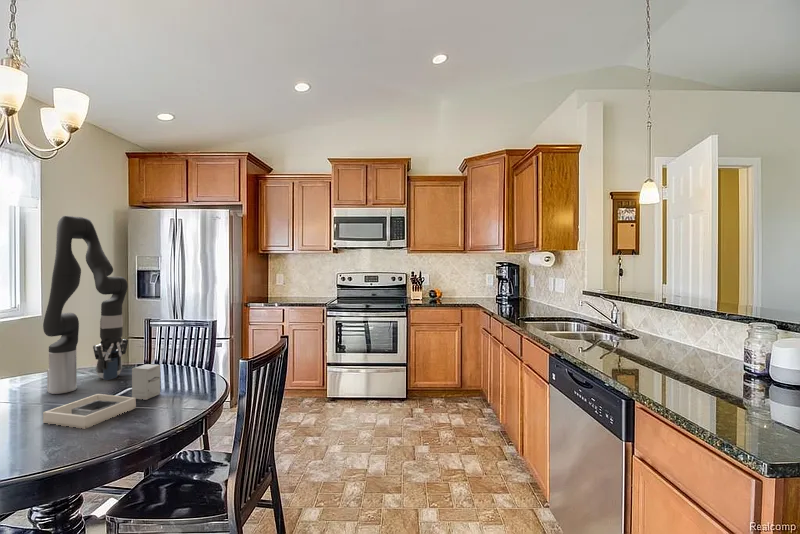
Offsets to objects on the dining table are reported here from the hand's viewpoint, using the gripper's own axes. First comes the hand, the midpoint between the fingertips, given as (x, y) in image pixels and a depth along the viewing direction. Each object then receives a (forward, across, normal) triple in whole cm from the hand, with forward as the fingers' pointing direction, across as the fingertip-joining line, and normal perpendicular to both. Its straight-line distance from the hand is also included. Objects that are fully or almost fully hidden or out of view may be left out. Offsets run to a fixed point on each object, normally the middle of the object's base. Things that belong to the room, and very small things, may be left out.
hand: (110, 367), depth 168 cm
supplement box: (+13, -6, +12) cm, 18 cm away
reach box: (+13, +16, +10) cm, 23 cm away
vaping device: (+5, 0, 0) cm, 5 cm away
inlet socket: (+12, +16, +12) cm, 23 cm away
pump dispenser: (+14, -24, -27) cm, 39 cm away
